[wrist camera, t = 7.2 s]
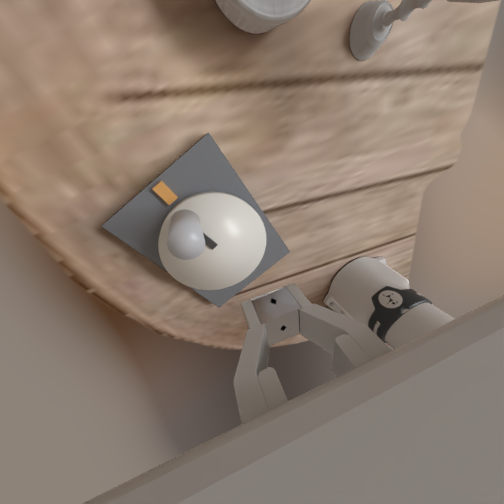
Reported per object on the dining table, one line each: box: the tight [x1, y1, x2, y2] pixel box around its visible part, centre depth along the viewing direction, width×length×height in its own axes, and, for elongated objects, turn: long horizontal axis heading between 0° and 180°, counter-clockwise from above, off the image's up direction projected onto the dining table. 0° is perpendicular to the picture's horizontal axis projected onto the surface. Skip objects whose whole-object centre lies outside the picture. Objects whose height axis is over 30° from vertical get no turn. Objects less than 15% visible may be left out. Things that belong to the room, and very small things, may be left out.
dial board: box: [102, 133, 290, 307], centre depth 28 cm, size 22×17×3 cm
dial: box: [158, 191, 266, 290], centre depth 24 cm, size 15×15×8 cm
